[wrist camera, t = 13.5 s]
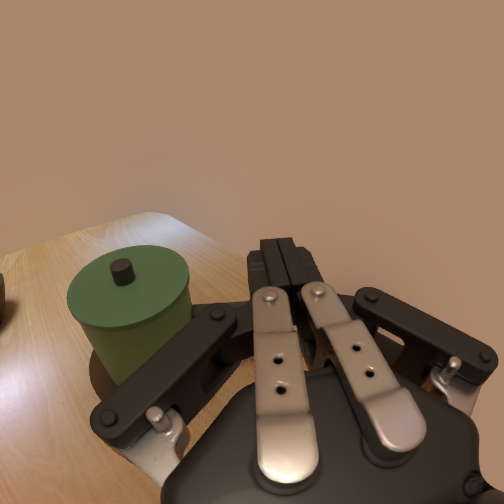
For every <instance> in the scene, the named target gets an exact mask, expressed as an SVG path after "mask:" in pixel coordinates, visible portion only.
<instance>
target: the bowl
mask: <svg viewBox="0 0 504 504" xmlns="http://www.w3.org/2000/svg"><path fill="white" fill-rule="evenodd" d="M4 306H5V284H4V278H3V275H2V274H1V273H0V323H1V320H2V317H3V312H4Z"/></svg>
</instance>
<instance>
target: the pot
mask: <svg viewBox="0 0 504 504" xmlns="http://www.w3.org/2000/svg"><path fill="white" fill-rule="evenodd" d="M189 278H190V275H189V270H188V266H187V263H186V261H185V260H184V259H183V257H181V256H180V255H179V254H178V253H176V252H175V251H173V250H170V249H168V248H164V247H160V246H152V245H141V246H132V247H126V248H122V249H118V250H115V251H112V252H110V253H107V254H105V255H103V256H101V257H99V258H97V259H95V260H94V261H92V262H91V263H89V264H88V265H86V266H85V267H84V268H83V269H82V270H81V271H80V272H79V273H78V274H77V275H76V276H75V278H74V279H73V281H72V282H71V284H70V286H69V289H68V292H67V304H68V308H69V310H70V312H71V314H72V316H73V317H74V318H75V319H76V320H77V321H78V322H79V323H80V324H81V326H82V328H83V330H84V332H85V334H86V336H87V338H88V339H89V341H90V343H91V345H92V347H93V348H94V350H95V352H96V354H97V355H98V357H99V359H100V360H101V362H102V364H103V365H104V367H105V368H106V370H107V372H108V373H109V375H110V376H111V378H112V379H113V381H114V382H115V383H116V384H117V386H119V385H120V384H121V383H123V382H124V381H125V380H126V379H127V378H128V377H129V376H130V375H131V374H133V373H134V372H135V371H136V370H137V369H138V368H139V367H140V366H141V365H142V364H144V363H145V362H146V361H147V360H148V359H149V358H150V357H151V356H152V355H153V354H155V353H156V352H157V351H158V350H159V349H160V348H161V347H162V346H163V345H164V344H165V343H167V342H168V341H169V340H170V339H171V338H172V337H173V336H174V335H175V334H176V333H177V332H179V331H180V330H181V329H182V328H183V327H184V326H185V325H186V324H187V323H188V322H189V321H191V320H192V319H193V318H194V317H195V316H196V315H197V314H198V313H199V312H200V311H201V310H203V309H204V308H205V307H206V306H208V305H210V304H196V305H192V303H191V298H190V293H189V288H188V285H189ZM247 302H248V301H243V302H229V303H226V304H229V305H231V306H232V307H233V308H237V307H240V306H242V305H244V304H246V303H247ZM213 304H214V303H213Z"/></svg>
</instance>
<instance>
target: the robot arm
mask: <svg viewBox="0 0 504 504" xmlns="http://www.w3.org/2000/svg"><path fill="white" fill-rule="evenodd" d="M247 268H248V284H249V291H250V298H251V299H250V300H249V301H248V302H247V303H246V304H244V305H242V306H240V307H237V308H233V307H232V306H231V305H229V304H226V303H214V304H210V305H208V306H206V307H205V308H204V309H203V310H201V311H200V312H199V313H198V314H197V315H196V316H195V317H194V318H193V319H192V320H191V321H189V322H188V323H187V324H186V325H185V326H184V327H183V328H182V329H181V330H180V331H179V332H177V333H176V334H175V335H174V336H173V337H172V338H171V339H170V340H169V341H168V342H167V343H165V344H164V345H163V346H162V347H161V348H160V349H159V350H158V351H157V352H156V353H155V354H153V355H152V356H151V357H150V358H149V359H148V360H147V361H146V362H145V363H144V364H142V365H141V366H140V367H139V368H138V369H137V370H136V371H135V372H134V373H133V374H131V375H130V376H129V377H128V378H127V379H126V380H125V381H124V382H123V383H121V384H120V385H119V386H118V387H117V388H116V389H115V390H114V391H113V392H111V393H110V394H109V395H108V396H107V397H106V398H105V399H104V400H103V401H102V402H100V403H99V404H98V405H97V406H96V407H95V408H94V409H93V411H92V413H91V416H90V426H91V428H92V430H93V432H94V433H95V434H96V435H97V436H99V437H100V438H101V439H102V440H103V441H104V442H105V444H106V445H108V446H109V447H110V448H111V449H112V450H114V451H115V452H116V453H117V454H119V455H120V456H121V457H123V458H125V459H127V460H128V461H129V462H131V463H132V464H134V465H135V466H137V467H138V468H139V469H140V470H141V471H142V472H144V473H145V474H146V475H147V476H148V477H149V478H151V479H152V480H153V481H154V482H156V483H157V484H158V485H159V486H161V487H162V489H161V495H160V501H161V504H504V492H502V491H500V490H497V489H495V488H493V487H492V486H490V485H489V484H488V483H487V482H486V481H485V480H484V478H483V477H482V475H481V472H480V466H479V434H478V430H477V427H476V425H475V423H474V422H473V420H472V419H471V418H470V416H471V414H472V411H473V408H474V406H475V403H476V400H477V397H478V394H479V391H480V388H481V386H482V385H483V384H484V382H485V381H486V380H487V379H488V378H489V376H490V375H491V374H492V373H493V371H494V370H495V369H496V368H497V366H498V357H497V354H496V352H495V351H494V350H493V349H492V348H491V347H490V346H488V345H486V344H484V343H482V342H481V341H479V340H477V339H475V338H473V337H471V336H469V335H467V334H465V333H463V332H461V331H460V330H458V329H456V328H454V327H452V326H450V325H448V324H446V323H444V322H442V321H440V320H438V319H436V318H434V317H432V316H430V315H428V314H427V313H424V312H423V311H421V310H419V309H417V308H415V307H413V306H410V305H409V304H407V303H405V302H402V301H401V300H399V299H397V298H395V297H393V296H391V295H389V294H387V293H384V292H383V291H381V290H379V289H376V288H373V287H364V288H361V289H359V290H358V291H357V292H356V294H355V296H348V295H340V294H337V293H336V292H335V290H334V289H333V288H332V287H331V286H330V285H328V284H326V283H324V281H323V279H322V277H321V275H320V272H319V270H318V268H317V266H316V264H315V262H314V260H313V257H312V255H311V253H310V252H309V251H308V250H307V249H306V248H304V247H295V244H294V242H293V239H292V238H291V237H289V238H277V239H264V240H260V250H256V251H250V253H249V255H248V256H247ZM293 325H296V326H297V331H294V329H293ZM379 327H381V328H383V329H385V330H386V331H388V332H390V333H392V334H394V335H396V336H397V337H399V338H401V339H402V340H403V341H404V345H400V344H398V343H397V342H395V341H393V340H391V339H389V338H388V337H386V336H384V335H382V334H380V333H378V332H377V331H378V328H379ZM300 349H301V351H302V354H303V357H304V359H305V362H306V365H307V367H308V370H309V371H304V370H303V364H302V358H301V352H300ZM251 356H254V366H255V382H254V383H252V384H250V385H248V386H246V387H244V388H243V389H241V390H240V391H239V392H237V393H236V394H235V395H234V396H233V397H232V398H231V400H230V401H229V402H228V403H227V405H226V406H225V407H224V409H223V410H222V411H221V412H220V414H219V415H218V416H217V418H216V419H215V420H214V421H213V423H212V424H211V425H210V426H209V428H208V429H207V430H206V431H205V433H204V434H203V435H202V436H201V438H200V439H199V440H198V441H197V442H196V444H195V445H194V446H193V447H192V448H191V450H190V451H189V452H188V453H187V454H186V456H185V457H184V458H183V454H184V451H185V449H186V447H187V446H188V444H189V442H190V432H189V429H188V428H187V425H188V424H189V423H190V422H191V420H192V419H193V418H194V417H195V416H196V415H197V414H198V413H199V412H200V410H201V409H202V408H203V407H204V406H205V405H206V404H207V403H208V401H209V400H210V399H211V398H212V397H213V396H214V395H215V394H216V392H217V391H218V390H219V389H220V388H221V387H222V385H223V384H224V383H225V382H226V381H227V380H228V378H229V377H230V376H231V375H232V374H233V373H234V371H235V370H236V369H237V368H238V367H239V365H240V363H241V360H244V359H246V358H249V357H251Z"/></svg>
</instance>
